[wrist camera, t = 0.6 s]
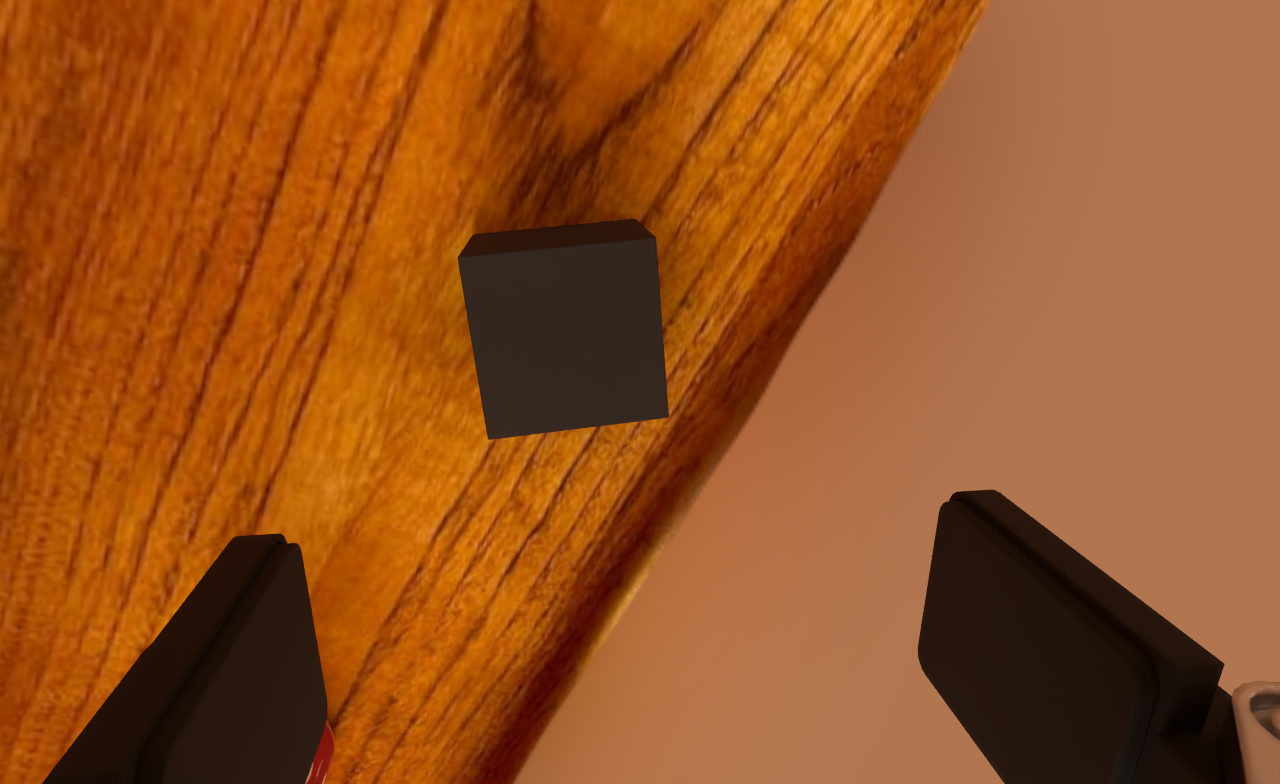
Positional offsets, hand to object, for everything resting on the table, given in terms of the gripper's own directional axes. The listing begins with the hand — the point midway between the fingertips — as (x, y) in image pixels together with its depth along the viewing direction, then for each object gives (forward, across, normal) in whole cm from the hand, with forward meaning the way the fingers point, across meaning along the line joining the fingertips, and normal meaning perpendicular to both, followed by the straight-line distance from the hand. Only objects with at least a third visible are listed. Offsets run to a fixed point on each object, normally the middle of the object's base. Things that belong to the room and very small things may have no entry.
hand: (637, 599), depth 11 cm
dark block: (+18, 0, 0) cm, 18 cm away
